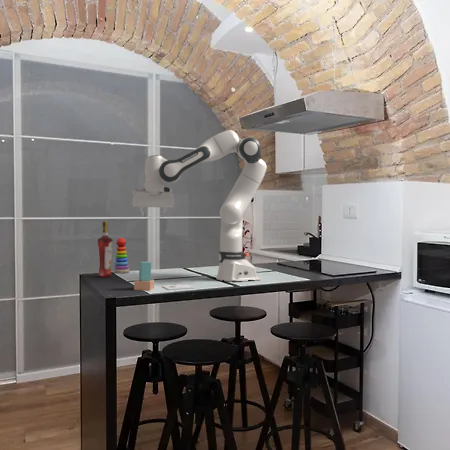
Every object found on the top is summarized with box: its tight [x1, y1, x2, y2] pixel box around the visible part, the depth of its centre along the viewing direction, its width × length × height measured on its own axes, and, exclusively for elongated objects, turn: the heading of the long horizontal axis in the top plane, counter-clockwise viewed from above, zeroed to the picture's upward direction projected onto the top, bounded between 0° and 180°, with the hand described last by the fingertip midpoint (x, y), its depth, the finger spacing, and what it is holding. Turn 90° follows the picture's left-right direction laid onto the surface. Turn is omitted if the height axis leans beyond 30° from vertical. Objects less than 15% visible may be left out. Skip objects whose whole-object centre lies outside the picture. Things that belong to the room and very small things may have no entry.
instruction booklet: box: [161, 283, 195, 291], centre depth 213 cm, size 12×9×1 cm
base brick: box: [133, 278, 155, 292], centre depth 208 cm, size 7×7×4 cm
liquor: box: [97, 221, 114, 278], centre depth 240 cm, size 7×7×28 cm
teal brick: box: [138, 261, 152, 281], centre depth 208 cm, size 4×4×8 cm
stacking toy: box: [114, 237, 130, 274], centre depth 257 cm, size 8×8×19 cm
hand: (153, 216), depth 233 cm, fingers open, 8 cm apart
